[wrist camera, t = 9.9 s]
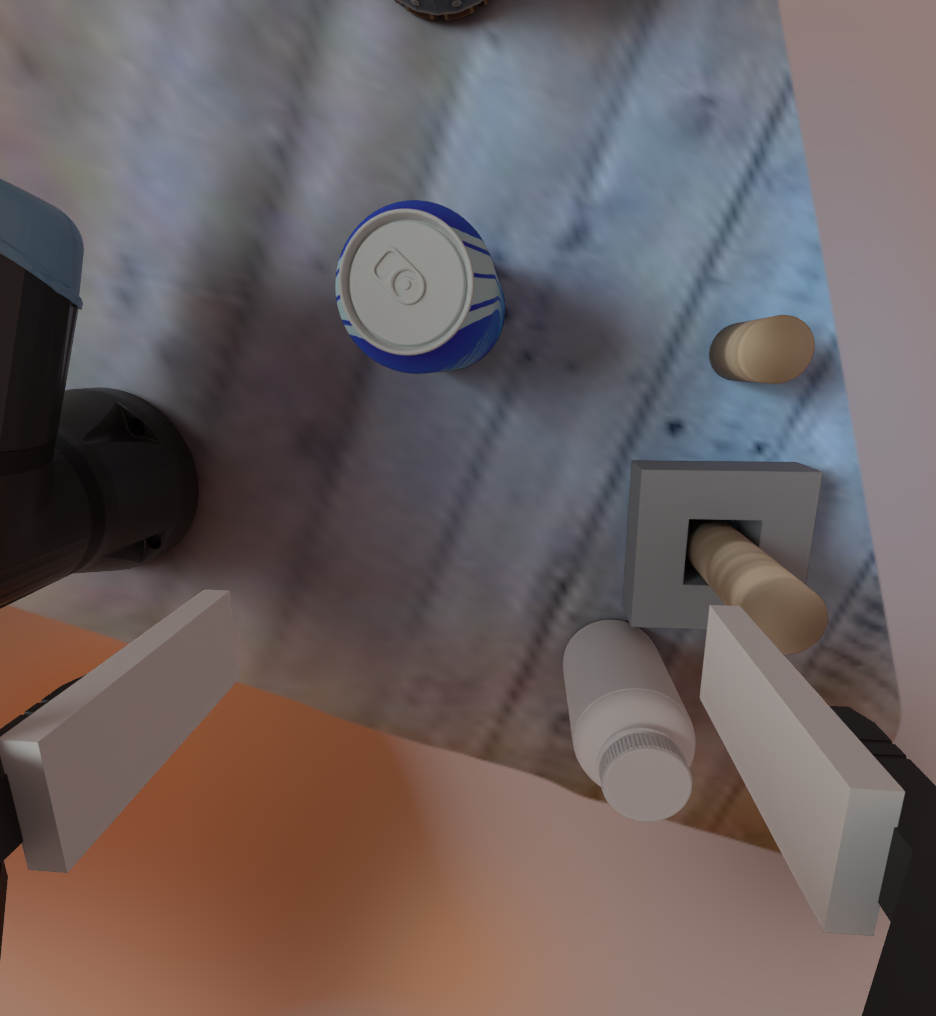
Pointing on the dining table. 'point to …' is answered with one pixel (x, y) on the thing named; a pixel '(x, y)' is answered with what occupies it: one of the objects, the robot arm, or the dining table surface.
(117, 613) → the dining table surface
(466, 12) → the mug
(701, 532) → the tall dowel
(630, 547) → the socket block
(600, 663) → the pill bottle
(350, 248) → the beer can
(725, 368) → the short dowel
